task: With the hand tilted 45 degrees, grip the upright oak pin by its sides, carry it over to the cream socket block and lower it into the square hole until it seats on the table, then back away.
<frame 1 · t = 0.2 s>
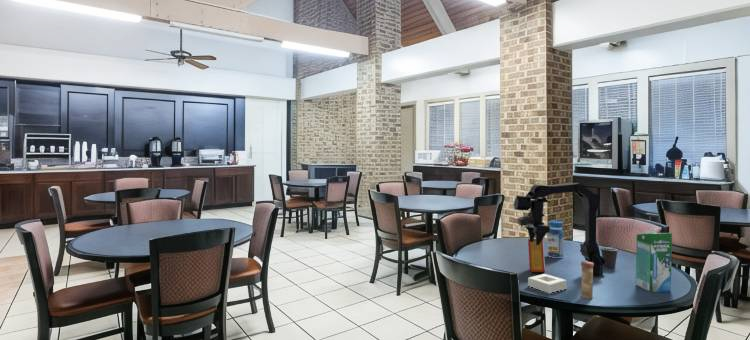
hand: (534, 243, 194), 16 cm above the table, tool pointing down, fingers open, 7 cm apart
coffee cup: (608, 267, 207), on the table
pin: (586, 297, 166), on the table
socket: (547, 287, 178), on the table
baking soda box: (537, 270, 200), point 1 cm above the table, touching gripper
beverage bottle: (555, 257, 228), on the table
milk carton: (652, 288, 175), on the table
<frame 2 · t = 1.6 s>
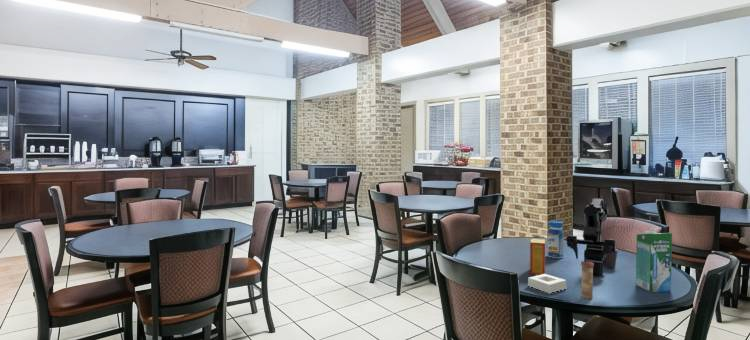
hand: (588, 260, 172), 13 cm above the table, tool tilted 45°, fingers open, 9 cm apart
baking soda box: (537, 272, 200), on the table
everything else where it was.
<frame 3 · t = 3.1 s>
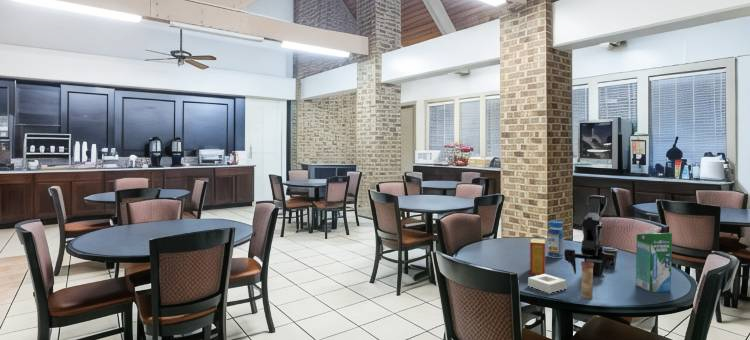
hand: (587, 275, 166), 9 cm above the table, tool tilted 45°, fingers open, 9 cm apart
nothing on the table moved.
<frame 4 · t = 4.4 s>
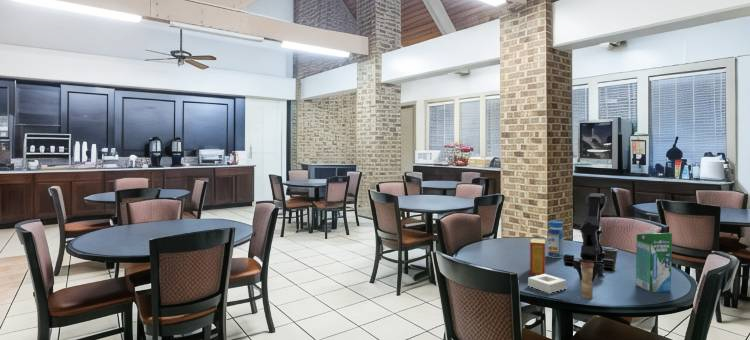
hand: (586, 281, 164), 7 cm above the table, tool tilted 45°, fingers closed on pin, 4 cm apart
pin: (586, 297, 166), on the table, touching gripper
everything else where it was.
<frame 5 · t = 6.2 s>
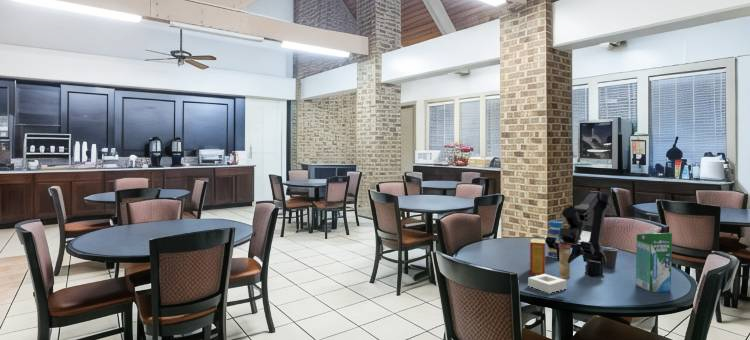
hand: (563, 261, 170), 13 cm above the table, tool tilted 45°, fingers closed on pin, 4 cm apart
pin: (564, 277, 171), point 6 cm above the table, touching gripper
everything else where it was.
when the fingers open (8 cm above the table, at t = 8.3 s): pin drops 1 cm, resting in socket.
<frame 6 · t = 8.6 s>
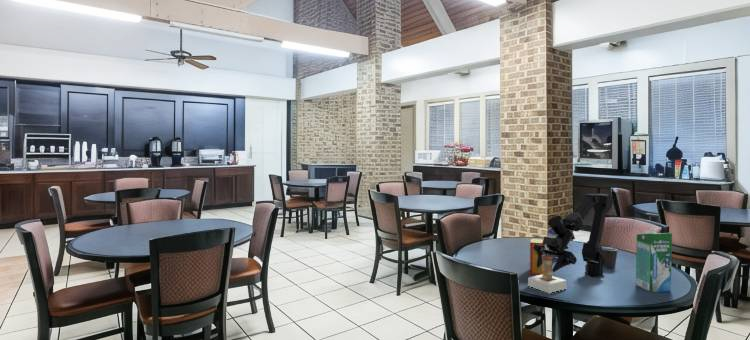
hand: (545, 269, 176), 9 cm above the table, tool tilted 45°, fingers open, 8 cm apart
pin: (547, 287, 178), resting in socket
everything else where it was.
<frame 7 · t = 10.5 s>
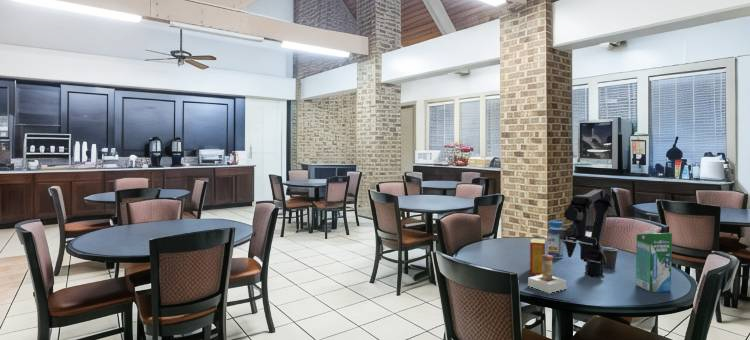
hand: (575, 258, 180), 12 cm above the table, tool pointing down, fingers open, 9 cm apart
nothing on the table moved.
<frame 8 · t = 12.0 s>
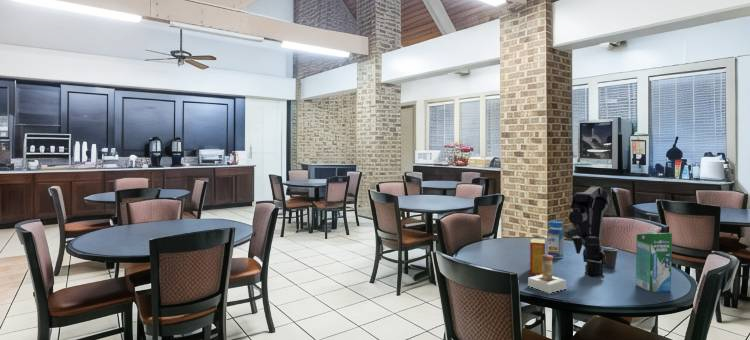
hand: (582, 256, 180), 13 cm above the table, tool pointing down, fingers open, 9 cm apart
nothing on the table moved.
at the end: pin 0.0 cm from the socket (horizontally); pin resting in socket; pin tilted 0° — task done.
